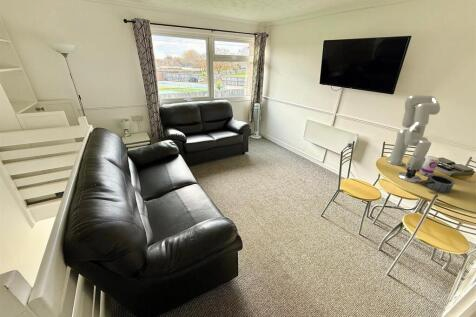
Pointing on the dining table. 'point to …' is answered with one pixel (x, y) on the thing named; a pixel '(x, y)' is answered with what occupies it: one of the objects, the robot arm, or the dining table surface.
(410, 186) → the dining table surface
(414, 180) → the lid
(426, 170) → the supplement can
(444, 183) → the pot
